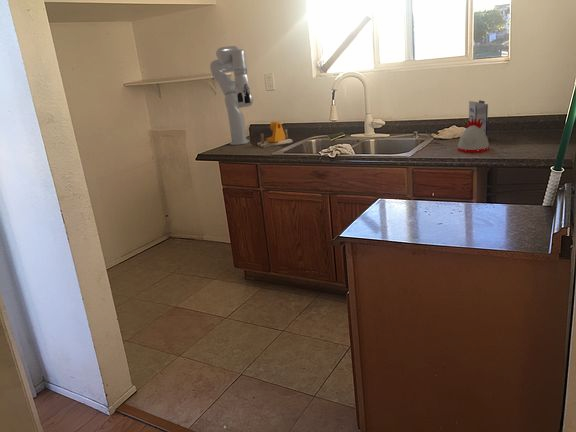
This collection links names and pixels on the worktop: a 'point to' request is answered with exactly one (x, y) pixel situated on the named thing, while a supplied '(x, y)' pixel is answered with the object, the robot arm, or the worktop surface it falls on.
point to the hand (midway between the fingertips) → (244, 102)
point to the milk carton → (479, 113)
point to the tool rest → (267, 144)
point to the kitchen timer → (473, 138)
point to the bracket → (276, 132)
